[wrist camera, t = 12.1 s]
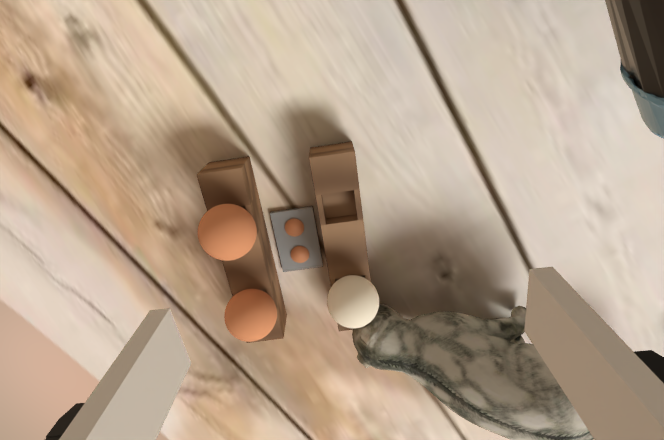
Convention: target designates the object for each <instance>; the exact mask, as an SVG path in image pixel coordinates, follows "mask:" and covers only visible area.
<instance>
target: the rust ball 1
mask: <svg viewBox="0 0 664 440" xmlns="http://www.w3.org/2000/svg"><path fill="white" fill-rule="evenodd" d="M256 236H257V228H256V224H255V221H254V219H253V217H252V216H251V214H250V213H249V212H248V211H247V210H245V209H244V208H242V207H240V206H238V205H235V204H221V205H217V206H215V207H213V208H211V209H210V210H208V211H207V212H206V213H205V214H204V216H203V217H202V219H201V220H200V223H199V226H198V238H199V242H200V244H201V246H202V248H203V249H204V250H205V251H206V253H208V254H209V255H210V256H212V257H214V258H216V259H219V260H224V261H230V260H235V259H238V258H240V257H242V256H244V255H245V254H247V253H248V252H249V251H250V250H251V248H252V247H253V245H254V243H255V240H256Z"/></svg>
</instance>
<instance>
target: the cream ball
mask: <svg viewBox="0 0 664 440" xmlns="http://www.w3.org/2000/svg"><path fill="white" fill-rule="evenodd" d="M327 306H328V310H329V312H330V315H331V316H332V318H333V319H334V320H335V321H336V322H337V323H338V324H340V325H342V326H344V327H347V328H360V327H363V326H365V325H367V324H368V323H370V322H371V321H372V320H373V319H374V317H375V316H376V314H377V311H378V308H379V296H378V293H377V290H376V288H375V287H374V285H373V284H372V283H371V282H370V281H369V280H367V279H365V278H364V277H361V276H357V275H349V276H345V277H342V278H340V279H339V280H337V281H336V282H335V283H334V284H333V285H332V287H331V288H330V290H329V293H328V297H327Z"/></svg>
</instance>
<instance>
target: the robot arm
mask: <svg viewBox="0 0 664 440" xmlns="http://www.w3.org/2000/svg"><path fill="white" fill-rule="evenodd" d="M605 2H606V5H607V9H608V13H609V16H610V20H611V24H612V28H613V31H614V35H615V39H616V42H617V46H618V50H619V54H620V57H621V67H620V70H621V74H622V77H623V79H624V81H625V82H626V84H627V85H628V86H629V87H630V88H631V89H632V92H633V94H634V97H635V100H636V103H637V106H638V108H639V111H640V114H641V117H642V119H643V121H644V122H645V124H646V125H647V127H648V128H649V129H650V130H651V131H652V132H653V133H654V134H655V135H657V136H659V137H661V138H664V0H605ZM524 331H525V333H526V334H527V336H528V337H529V339H530V340H531V342H532V343H533V345H534V346H535V348H536V350H537V351H538V353H539V354H540V356H541V357H542V359H543V360H544V362H545V364H546V365H547V367H548V368H549V370H550V371H551V373H552V374H553V376H554V377H555V379H556V381H557V382H558V384H559V385H560V387H561V388H562V390H563V391H564V393H565V395H566V396H567V398H568V399H569V401H570V402H571V404H572V405H573V407H574V408H575V410H576V412H577V413H578V415H579V416H580V418H581V419H582V421H583V422H584V424H585V426H586V427H587V429H588V430H589V432H590V433H591V435H592V436H593V438H594V439H595V440H664V357H662V356H660V355H659V354H657V353H655V352H654V351H652V350H648V351H637V352H633V351H632V350H631V349H630V348H629V347H628V346H627V345H626V344H625V342H624V341H623V340H622V339H621V338H620V337H619V336H618V335H617V334H616V333H615V332H614V331H613V330H612V329H611V328H610V327H609V326H608V325H607V324H606V323H605V322H604V320H603V319H602V318H601V317H600V316H599V315H598V314H597V313H596V312H595V311H594V310H593V309H592V308H591V307H590V306H589V305H588V304H587V303H586V302H585V301H584V300H583V298H582V297H581V296H580V295H579V294H578V293H577V292H576V291H575V290H574V289H573V288H572V287H571V286H570V285H569V284H568V283H567V282H566V281H565V280H564V279H563V278H562V276H561V275H560V274H559V273H558V272H557V271H556V270H555V269H554V268H553V267H546V268H536V269H530V271H529V282H528V294H527V306H526V317H525V329H524ZM190 365H191V361H190V358H189V356H188V353H187V351H186V348H185V346H184V343H183V341H182V338H181V336H180V333H179V330H178V328H177V325H176V323H175V320H174V318H173V315H172V313H171V310H170V308H168V309H159V310H150V311H149V313H148V314H147V316H146V317H145V319H144V320H143V321H142V323H141V324H140V326H139V327H138V328H137V330H136V331H135V333H134V334H133V336H132V337H131V338H130V340H129V341H128V343H127V344H126V345H125V347H124V348H123V350H122V351H121V353H120V354H119V355H118V357H117V358H116V360H115V361H114V362H113V364H112V365H111V367H110V368H109V370H108V371H107V372H106V374H105V375H104V377H103V378H102V379H101V381H100V382H99V384H98V385H97V387H96V388H95V390H94V391H93V392H92V394H91V395H90V397H89V398H88V399H87V401H86V402H85V403H79V404H75V405H74V406H73V407H72V408H71V409H70V410H69V411H68V412H67V413H65V414H64V415H63V416H62V417H61V418H60V419H59V420H58V421H57V422H56V424H55V425H54V427H53V428H52V429H51V431H50V432H49V433H48V435H47V436H46V440H156V438H157V436H158V434H159V432H160V430H161V428H162V425H163V423H164V421H165V419H166V417H167V415H168V412H169V410H170V408H171V406H172V404H173V402H174V399H175V397H176V395H177V393H178V391H179V389H180V386H181V384H182V382H183V380H184V378H185V376H186V373H187V371H188V369H189V367H190Z"/></svg>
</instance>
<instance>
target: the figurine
mask: <svg viewBox="0 0 664 440" xmlns="http://www.w3.org/2000/svg"><path fill="white" fill-rule="evenodd" d="M525 317H526V308H525V307H522V306H517V307H515V308H514V309H513V310H512V312H511V317H509V318H500V319H481V318H477V317H474V316H470V315H467V314H463V313H457V312H449V311H447V312H434V313H430V314H424V315H421V316H417V317H415V318H413V319H410V320H408V319H405V318H403V317H402V316H401V315H400V314H399V313H397V312H396V311H395V310H394V309H393V308H391V307H389V306H387V305H383V304H379V308H378V311H377V314H376V316H375V317H374V319H373V320H372V321H371V322H370V323H368V324H367V325H365V326H363V327H360V328H354V329H353V333H352V336H353V342H354V345H355V348H356V350H357V351H358V355H357V359H358V360H359V361H360V362H361V363H362V364H363V365H364V366H365V368H368V367H369V366H372V367H374V368H377V369H381V370H392V371H398V372H404V373H406V374H407V375H409V376H411V377H412V378H413V379H415V380H416V381H418V382H419V383H420V384H421V385H423V386H424V387H425V388H426V389H428V390H429V391H430V392H431V393H432V394H433V395H434V396H436V397H437V398H438V399H439V400H440V401H441V402H442V403H443V404H445V405H446V406H447V407H448V408H449V409H451V410H452V411H453V412H455V413H456V414H458V415H459V416H461V417H463V418H464V419H466V420H468V421H470V422H471V423H473V424H475V425H477V426H479V427H481V428H484V429H486V430H488V431H491V432H493V433H496V434H498V435H500V436H503V437H505V438H508V439H511V440H593V439H594V438H593V436H592V435H591V433H590V432H589V430H588V429H587V427H586V426H585V424H584V422H583V421H582V419H581V418H580V416H579V415H578V413H577V412H576V410H575V408H574V407H573V405H572V404H571V402H570V401H569V399H568V398H567V396H566V395H565V393H564V391H563V390H562V388H561V387H560V385H559V384H558V382H557V381H556V379H555V377H554V376H553V374H552V373H551V371H550V370H549V368H548V367H547V365H546V364H545V362H544V360H543V359H542V357H541V356H540V354H539V353H538V351H537V350H536V348H535V346H534V345H533V344H526V343H525V342H524V339H523V338H522V336H521V334H523V333H524V332H525V331H524V329H525Z"/></svg>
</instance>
